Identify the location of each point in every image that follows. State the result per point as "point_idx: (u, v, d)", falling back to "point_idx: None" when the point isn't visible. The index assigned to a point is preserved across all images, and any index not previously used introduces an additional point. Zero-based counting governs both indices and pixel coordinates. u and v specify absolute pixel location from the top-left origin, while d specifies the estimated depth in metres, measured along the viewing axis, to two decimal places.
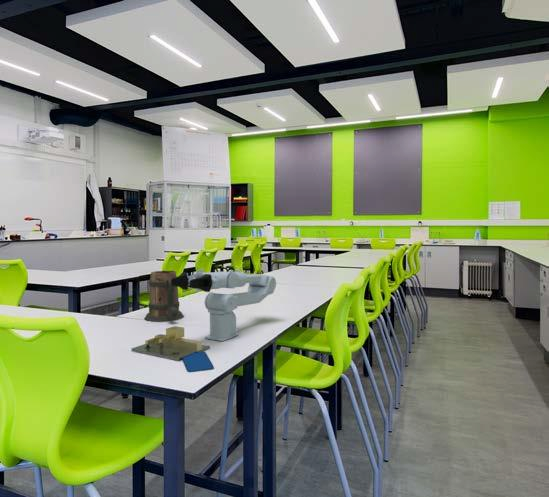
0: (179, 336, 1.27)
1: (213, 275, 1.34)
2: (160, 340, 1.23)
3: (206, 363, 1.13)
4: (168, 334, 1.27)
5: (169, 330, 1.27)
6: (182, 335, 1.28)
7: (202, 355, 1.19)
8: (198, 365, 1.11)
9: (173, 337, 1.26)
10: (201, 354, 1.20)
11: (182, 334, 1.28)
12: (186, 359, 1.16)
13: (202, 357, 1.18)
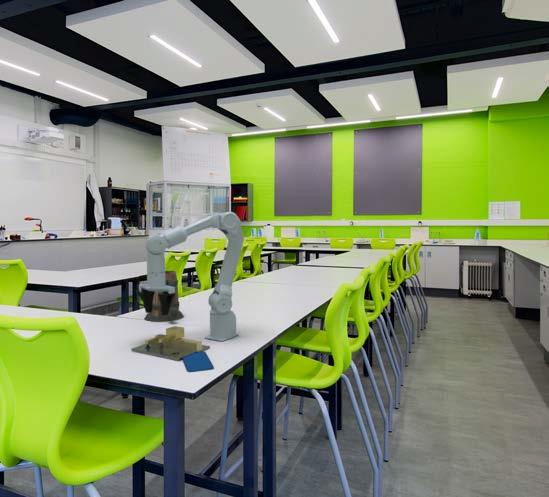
0: (179, 336, 1.27)
1: (155, 274, 1.29)
2: (160, 340, 1.23)
3: (206, 363, 1.13)
4: (168, 334, 1.27)
5: (169, 330, 1.27)
6: (182, 335, 1.28)
7: (202, 355, 1.19)
8: (198, 365, 1.11)
9: (173, 337, 1.26)
10: (201, 354, 1.20)
11: (182, 334, 1.28)
12: (186, 359, 1.16)
13: (202, 357, 1.18)
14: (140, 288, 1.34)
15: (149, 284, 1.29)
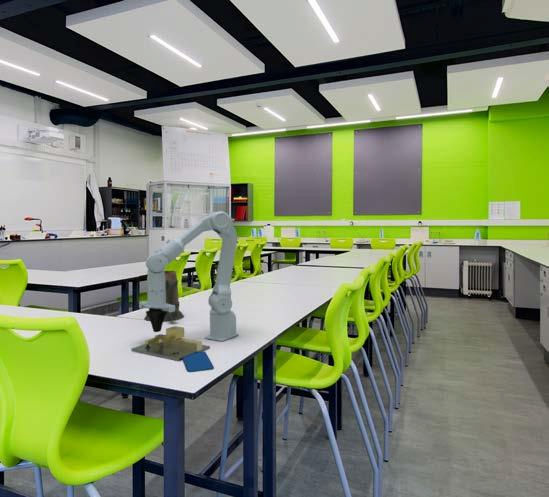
0: (179, 336, 1.27)
1: (156, 293, 1.29)
2: (160, 340, 1.23)
3: (206, 363, 1.13)
4: (168, 334, 1.27)
5: (169, 330, 1.27)
6: (182, 335, 1.28)
7: (202, 355, 1.19)
8: (198, 365, 1.11)
9: (173, 337, 1.26)
10: (201, 354, 1.20)
11: (182, 334, 1.28)
12: (186, 359, 1.16)
13: (202, 357, 1.18)
14: (140, 306, 1.34)
15: (149, 302, 1.30)
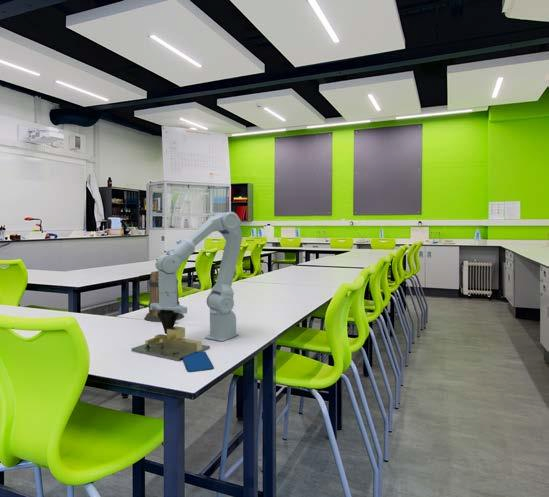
0: (180, 336, 1.27)
1: (167, 294, 1.27)
2: (161, 340, 1.23)
3: (206, 363, 1.13)
4: (169, 334, 1.27)
5: (170, 330, 1.27)
6: (183, 335, 1.28)
7: (202, 355, 1.19)
8: (198, 365, 1.11)
9: (173, 337, 1.26)
10: (201, 354, 1.20)
11: (183, 334, 1.28)
12: (186, 359, 1.16)
13: (202, 357, 1.18)
14: (151, 307, 1.32)
15: (161, 304, 1.27)
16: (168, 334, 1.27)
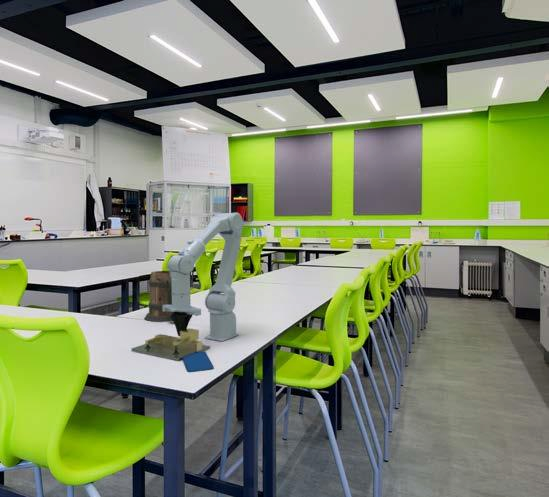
0: (194, 339, 1.24)
1: (181, 296, 1.24)
2: (175, 343, 1.20)
3: (206, 363, 1.13)
4: (183, 337, 1.24)
5: (183, 332, 1.24)
6: (196, 338, 1.25)
7: (202, 355, 1.19)
8: (198, 365, 1.11)
9: (187, 340, 1.23)
10: (201, 354, 1.20)
11: (196, 336, 1.25)
12: (186, 359, 1.16)
13: (202, 357, 1.18)
14: (164, 309, 1.29)
15: (174, 306, 1.24)
16: (181, 336, 1.24)
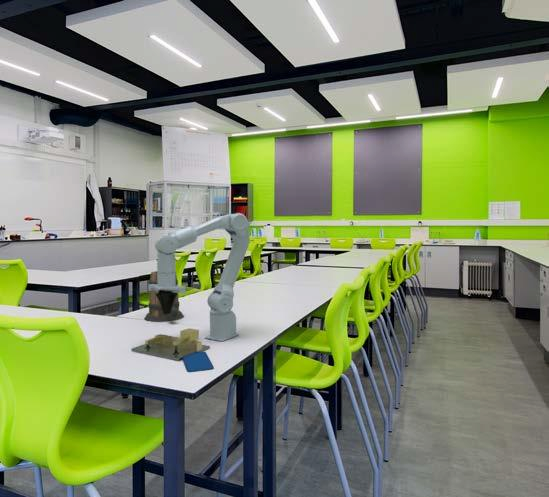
0: (194, 339, 1.24)
1: (166, 274, 1.28)
2: (175, 343, 1.20)
3: (206, 363, 1.13)
4: (183, 337, 1.24)
5: (183, 332, 1.24)
6: (196, 338, 1.25)
7: (202, 355, 1.19)
8: (198, 365, 1.11)
9: (187, 340, 1.23)
10: (201, 354, 1.20)
11: (196, 336, 1.25)
12: (186, 359, 1.16)
13: (202, 357, 1.18)
14: (150, 288, 1.34)
15: (160, 284, 1.29)
16: (181, 336, 1.24)
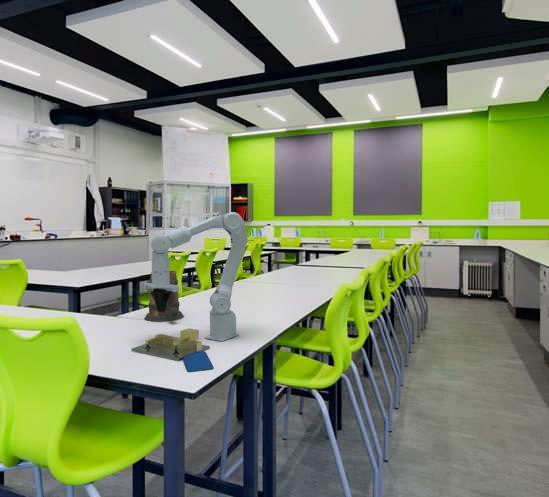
0: (194, 339, 1.24)
1: (160, 273, 1.32)
2: (175, 343, 1.20)
3: (206, 363, 1.13)
4: (183, 337, 1.24)
5: (183, 332, 1.24)
6: (196, 338, 1.25)
7: (202, 355, 1.19)
8: (198, 365, 1.11)
9: (187, 340, 1.23)
10: (201, 354, 1.20)
11: (196, 336, 1.25)
12: (186, 359, 1.16)
13: (202, 357, 1.18)
14: (145, 287, 1.37)
15: (154, 283, 1.32)
16: (181, 336, 1.24)
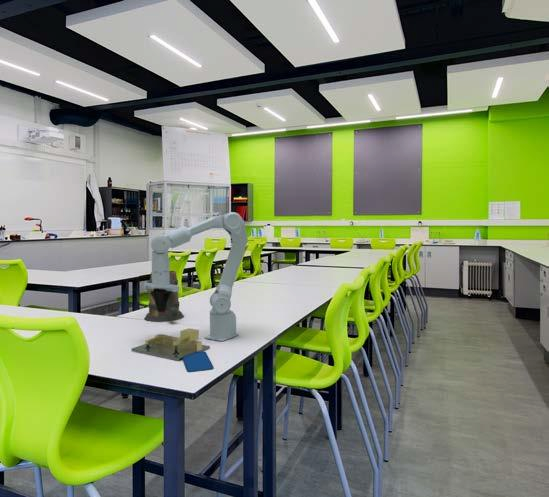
0: (194, 339, 1.24)
1: (160, 273, 1.32)
2: (175, 343, 1.20)
3: (206, 363, 1.13)
4: (183, 337, 1.24)
5: (183, 332, 1.24)
6: (196, 338, 1.25)
7: (202, 355, 1.19)
8: (198, 365, 1.11)
9: (187, 340, 1.23)
10: (201, 354, 1.20)
11: (196, 336, 1.25)
12: (186, 359, 1.16)
13: (202, 357, 1.18)
14: (145, 287, 1.37)
15: (154, 283, 1.32)
16: (181, 336, 1.24)
